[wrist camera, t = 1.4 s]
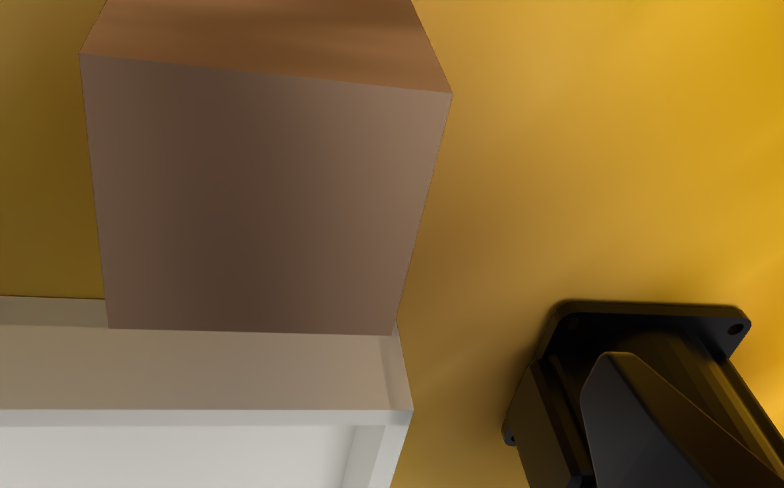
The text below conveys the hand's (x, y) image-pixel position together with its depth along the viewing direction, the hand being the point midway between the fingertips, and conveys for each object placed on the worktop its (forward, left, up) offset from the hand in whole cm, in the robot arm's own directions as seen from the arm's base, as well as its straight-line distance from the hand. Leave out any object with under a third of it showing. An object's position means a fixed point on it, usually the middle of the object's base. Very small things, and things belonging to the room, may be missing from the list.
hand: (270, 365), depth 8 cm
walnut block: (0, 0, -8) cm, 8 cm away
